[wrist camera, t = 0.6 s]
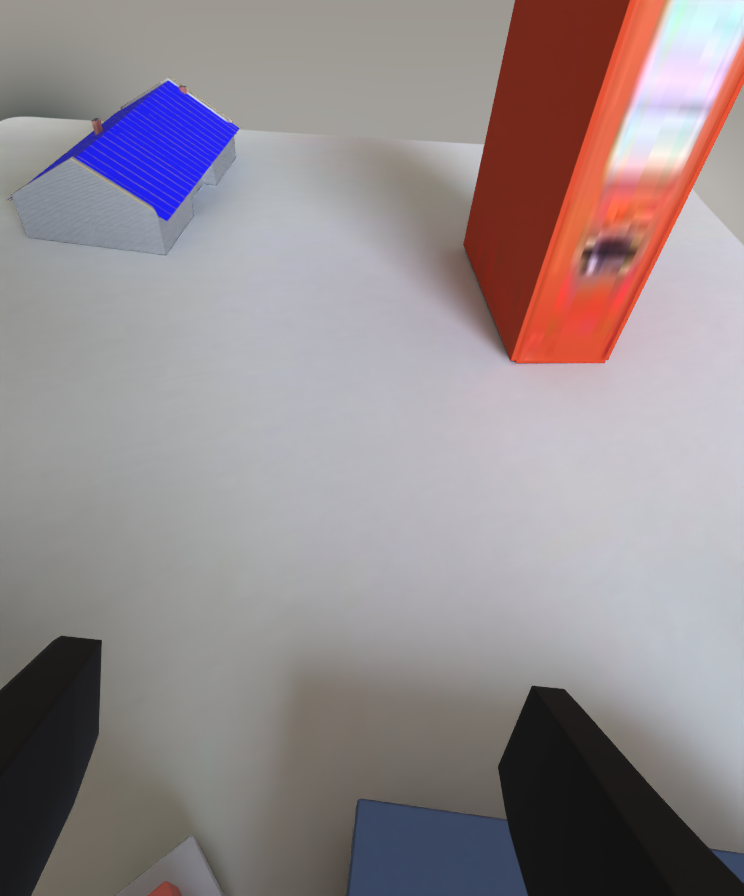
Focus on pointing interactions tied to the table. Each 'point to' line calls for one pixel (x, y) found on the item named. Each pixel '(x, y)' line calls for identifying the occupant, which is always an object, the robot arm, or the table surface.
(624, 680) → the table surface
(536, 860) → the robot arm
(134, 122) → the blue roofed model house
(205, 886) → the iron
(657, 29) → the file binder
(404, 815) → the ironing board
